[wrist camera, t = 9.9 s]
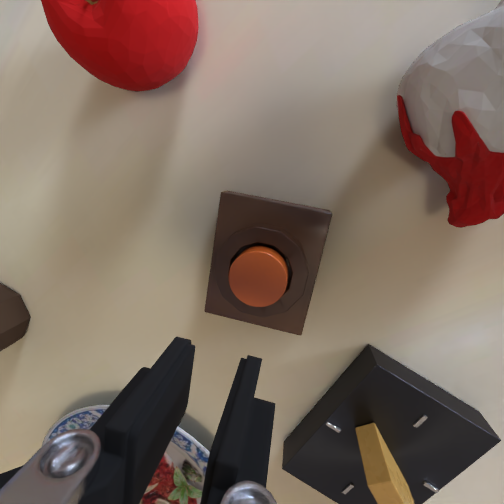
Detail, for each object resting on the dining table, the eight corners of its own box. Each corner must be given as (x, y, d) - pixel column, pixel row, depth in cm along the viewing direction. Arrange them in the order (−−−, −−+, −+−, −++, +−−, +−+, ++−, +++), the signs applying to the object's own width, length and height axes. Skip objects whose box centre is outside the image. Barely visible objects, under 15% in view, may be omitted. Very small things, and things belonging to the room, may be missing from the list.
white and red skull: (575, -46, 17) (529, 199, 22) (377, 4, 19) (378, 217, 24) (848, -226, 9) (671, 235, 14) (442, -102, 11) (422, 257, 16)
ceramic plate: (73, 529, 41) (57, 555, 38) (35, 381, 35) (12, 399, 32) (244, 566, 37) (240, 598, 34) (238, 405, 30) (231, 428, 27)
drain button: (238, 240, 22) (232, 245, 20) (293, 252, 21) (293, 258, 20) (229, 291, 23) (224, 299, 21) (282, 303, 22) (280, 313, 21)
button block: (227, 190, 25) (214, 192, 21) (329, 210, 24) (335, 216, 20) (211, 301, 28) (197, 321, 24) (301, 323, 27) (301, 348, 23)
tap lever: (354, 427, 25) (368, 489, 20) (374, 421, 24) (393, 484, 19) (388, 489, 26) (409, 563, 21) (408, 485, 26) (434, 559, 21)
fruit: (126, 117, 24) (14, 79, 15) (90, 0, 23) (-65, -132, 13) (224, 85, 22) (168, 17, 13) (195, -47, 21) (103, -242, 11)
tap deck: (368, 343, 26) (377, 365, 23) (479, 411, 26) (503, 442, 23) (283, 441, 30) (281, 470, 27) (377, 499, 30) (386, 535, 27)
